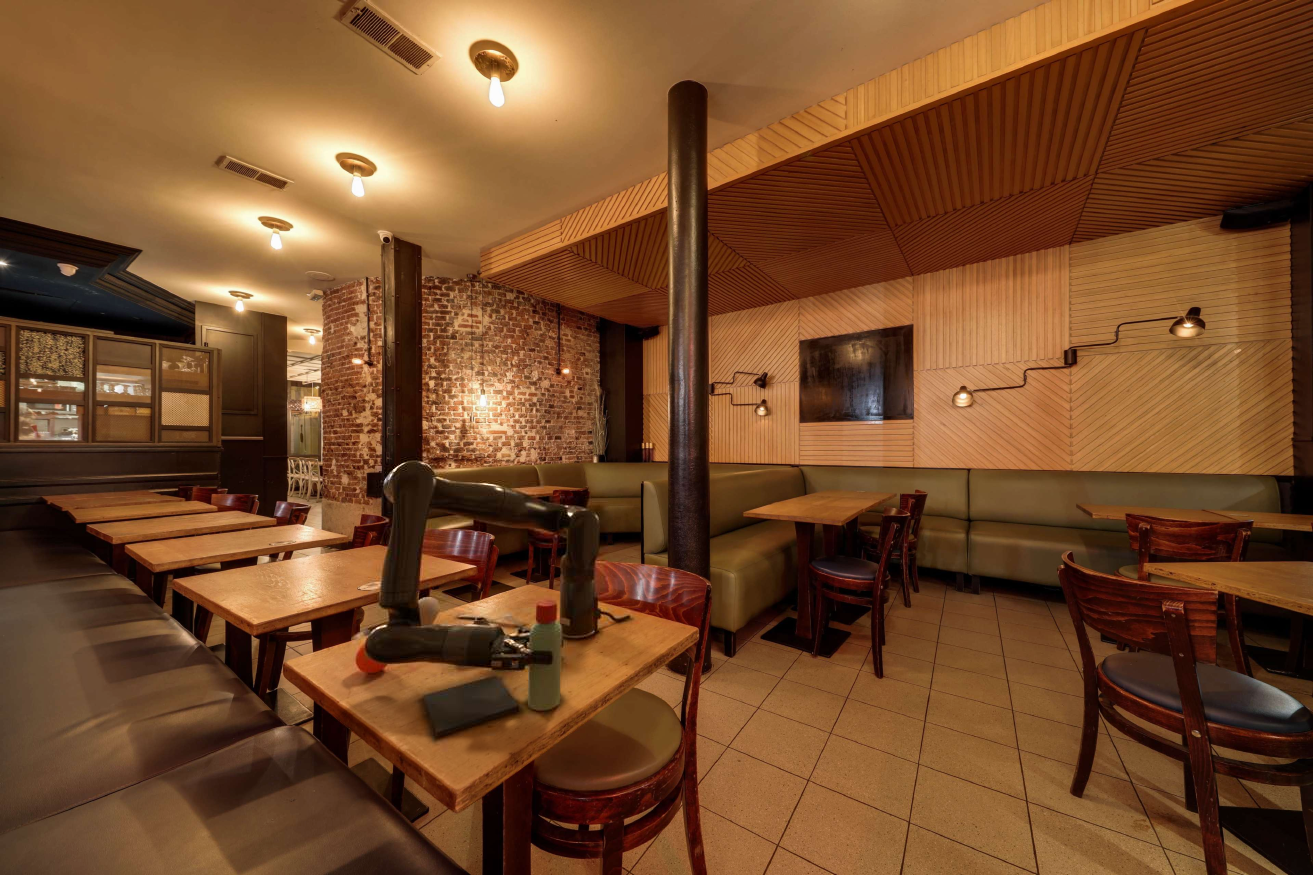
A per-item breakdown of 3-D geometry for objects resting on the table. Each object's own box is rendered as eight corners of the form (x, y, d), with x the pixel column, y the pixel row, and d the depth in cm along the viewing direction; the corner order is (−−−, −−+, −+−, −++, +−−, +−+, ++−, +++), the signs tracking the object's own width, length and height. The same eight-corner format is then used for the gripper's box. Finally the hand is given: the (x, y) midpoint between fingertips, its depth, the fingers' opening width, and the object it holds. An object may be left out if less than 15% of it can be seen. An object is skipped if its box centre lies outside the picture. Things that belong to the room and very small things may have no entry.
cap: (551, 614, 91) (552, 598, 91) (559, 621, 88) (560, 603, 88) (532, 618, 89) (533, 601, 89) (540, 625, 86) (540, 607, 86)
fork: (464, 622, 133) (463, 613, 134) (525, 624, 127) (524, 613, 127) (457, 626, 131) (456, 616, 131) (519, 627, 124) (518, 617, 124)
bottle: (552, 690, 92) (555, 598, 93) (565, 704, 88) (567, 607, 88) (523, 699, 89) (526, 603, 89) (534, 714, 84) (537, 613, 84)
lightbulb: (418, 636, 118) (419, 593, 118) (442, 636, 118) (443, 593, 118) (407, 647, 112) (408, 601, 112) (433, 646, 112) (434, 601, 112)
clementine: (382, 680, 96) (383, 646, 96) (346, 683, 94) (346, 648, 95) (397, 663, 103) (398, 631, 104) (364, 665, 102) (364, 633, 102)
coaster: (496, 679, 97) (496, 674, 97) (518, 710, 85) (518, 705, 85) (422, 700, 88) (423, 695, 88) (436, 738, 77) (437, 732, 77)
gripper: (455, 641, 82) (546, 646, 81) (490, 612, 97) (568, 616, 95) (454, 683, 82) (545, 689, 81) (489, 648, 97) (567, 652, 95)
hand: (557, 650), depth 88 cm, fingers closed on bottle, 6 cm apart
